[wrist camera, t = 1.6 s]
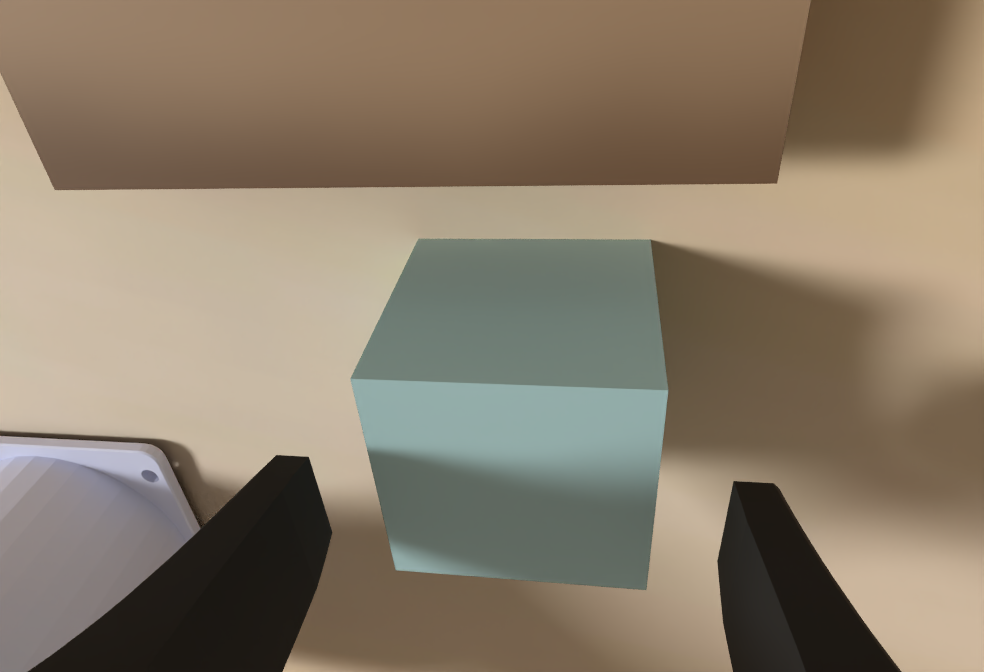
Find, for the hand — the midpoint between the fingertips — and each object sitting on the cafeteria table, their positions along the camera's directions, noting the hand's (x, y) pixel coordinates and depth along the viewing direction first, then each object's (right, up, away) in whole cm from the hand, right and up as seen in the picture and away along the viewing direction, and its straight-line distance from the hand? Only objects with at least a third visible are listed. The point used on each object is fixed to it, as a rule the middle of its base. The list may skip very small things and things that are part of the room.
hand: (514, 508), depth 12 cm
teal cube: (+1, +3, +4) cm, 5 cm away
